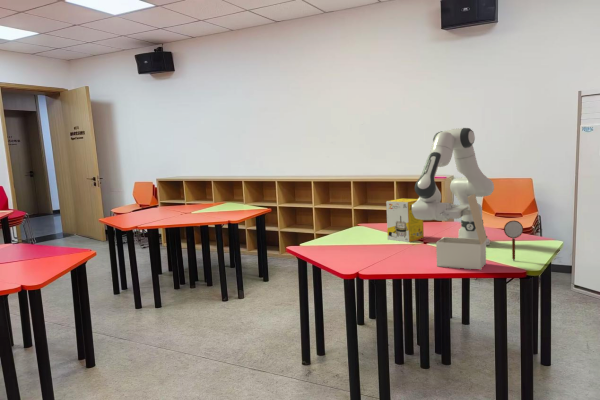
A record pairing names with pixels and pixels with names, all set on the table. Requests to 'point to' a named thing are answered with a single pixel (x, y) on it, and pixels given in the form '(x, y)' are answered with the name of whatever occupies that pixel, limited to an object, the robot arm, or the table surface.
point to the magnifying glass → (513, 233)
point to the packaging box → (403, 221)
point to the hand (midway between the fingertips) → (474, 212)
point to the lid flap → (477, 218)
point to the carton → (460, 253)
